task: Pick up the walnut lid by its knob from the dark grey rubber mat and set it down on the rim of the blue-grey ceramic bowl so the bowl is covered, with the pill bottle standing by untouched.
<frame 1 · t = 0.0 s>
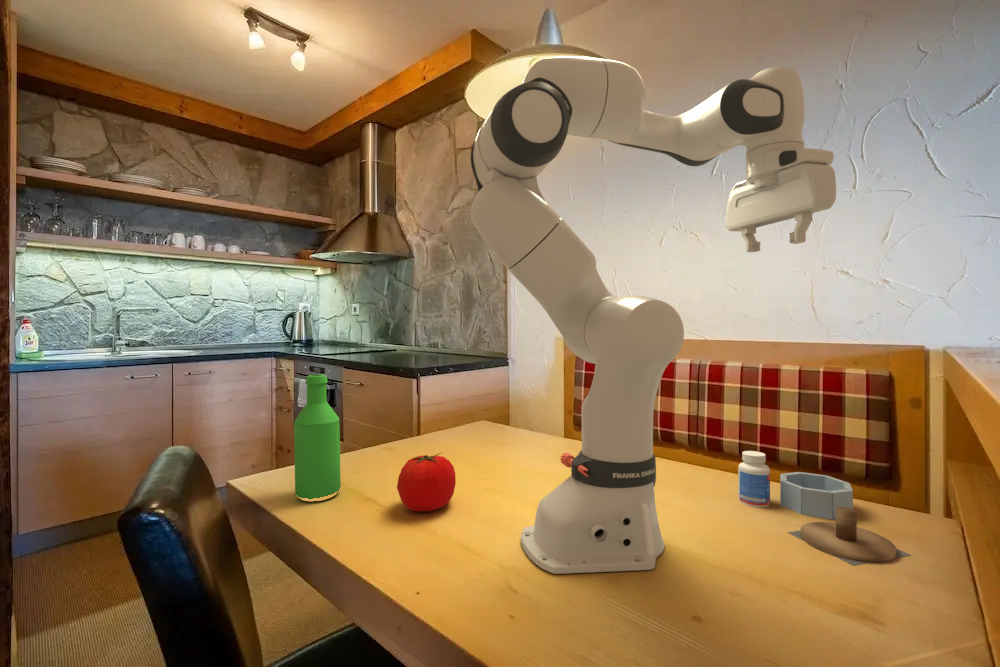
hand: (774, 247, 82), 48 cm above the table, fingers open, 8 cm apart
bowl: (814, 508, 88), on the table
pill bottle: (753, 504, 91), on the table
lid: (846, 543, 73), resting on mat
mat: (846, 545, 73), on the table
bottle: (318, 497, 97), on the table
tomato: (426, 508, 91), on the table
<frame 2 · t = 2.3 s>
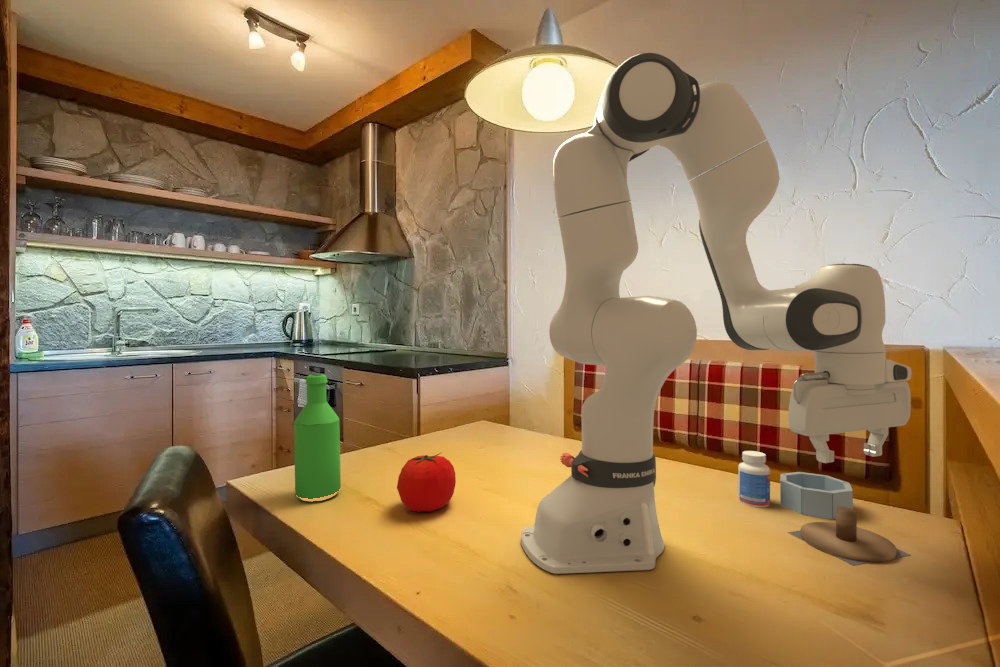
hand: (849, 458, 73), 14 cm above the table, fingers open, 8 cm apart
nothing on the table moved.
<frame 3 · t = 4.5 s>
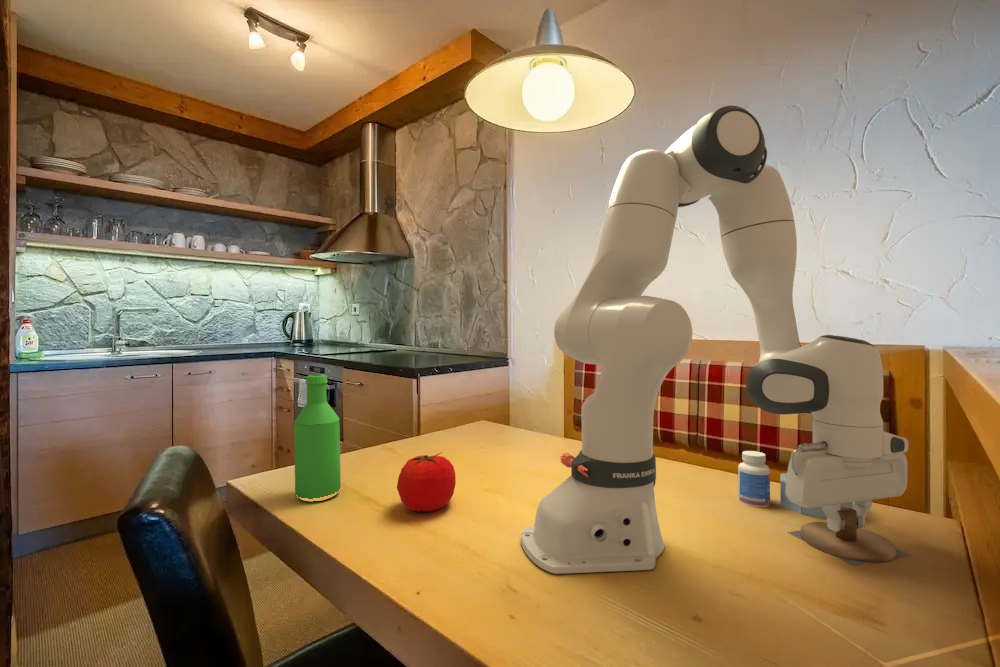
hand: (846, 528, 73), 3 cm above the table, fingers closed on lid, 3 cm apart
lid: (846, 543, 73), resting on mat, touching gripper
everything else where it was.
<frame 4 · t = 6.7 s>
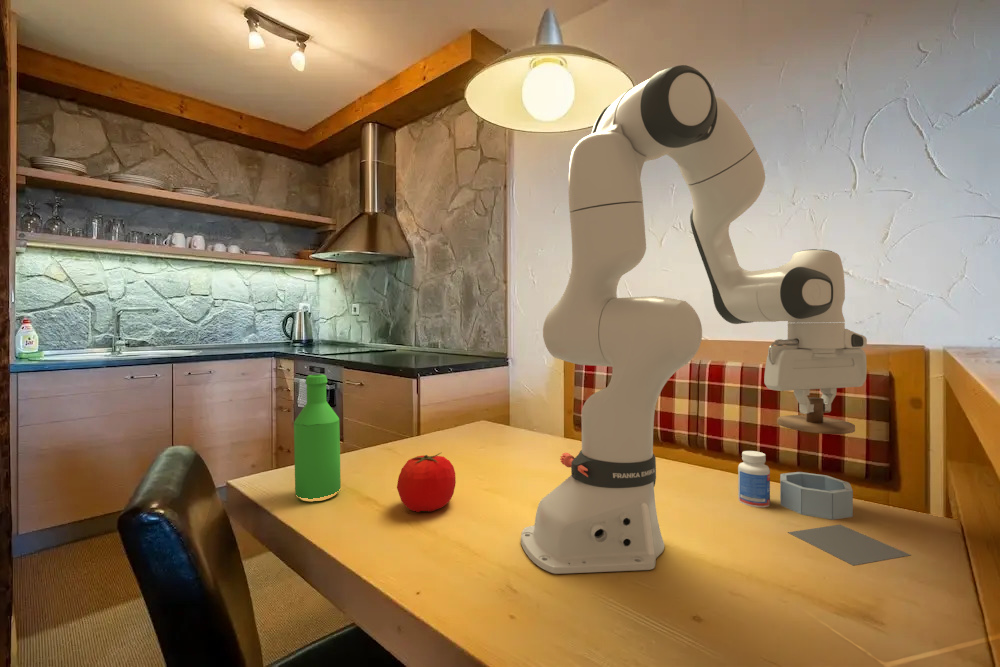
hand: (815, 412, 88), 18 cm above the table, fingers closed on lid, 3 cm apart
lid: (814, 426, 88), point 15 cm above the table, touching gripper
everything else where it was.
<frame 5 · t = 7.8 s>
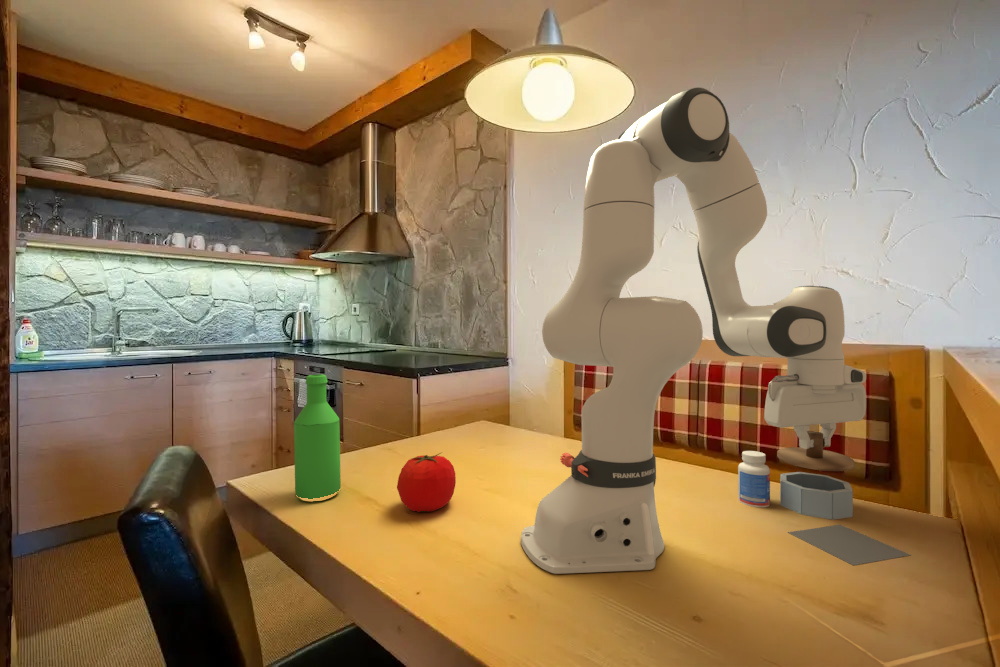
hand: (814, 447, 88), 11 cm above the table, fingers closed on lid, 3 cm apart
lid: (814, 460, 88), point 9 cm above the table, touching gripper
everything else where it was.
when the fingers open (9 cm above the table, at t = 8.9 s): lid drops 1 cm, resting on bowl.
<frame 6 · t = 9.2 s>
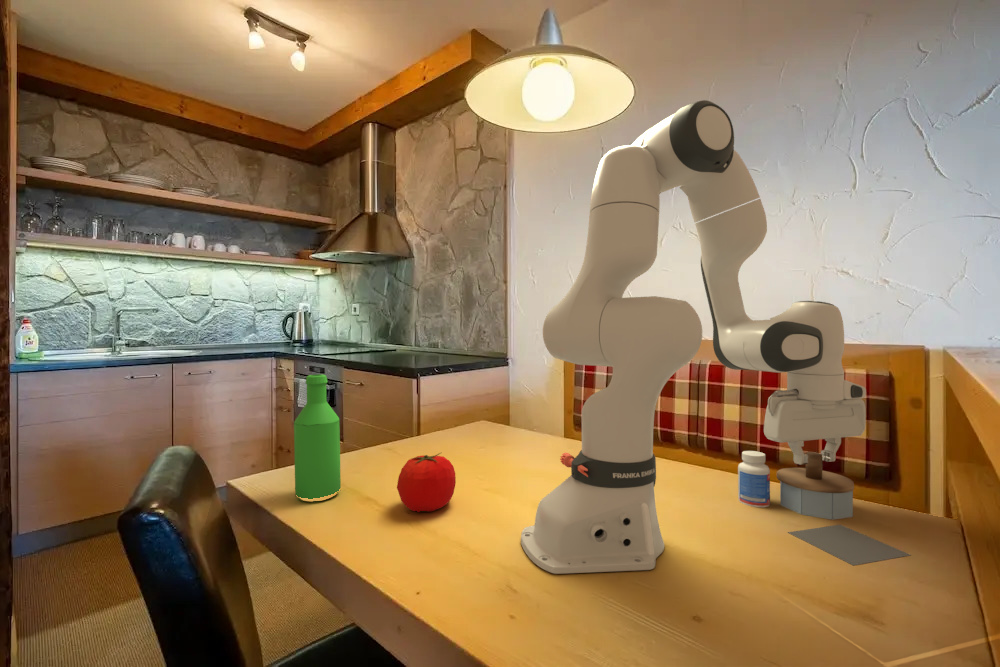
hand: (814, 462, 88), 9 cm above the table, fingers open, 5 cm apart
lid: (813, 481, 88), point 5 cm above the table, touching bowl
everything else where it was.
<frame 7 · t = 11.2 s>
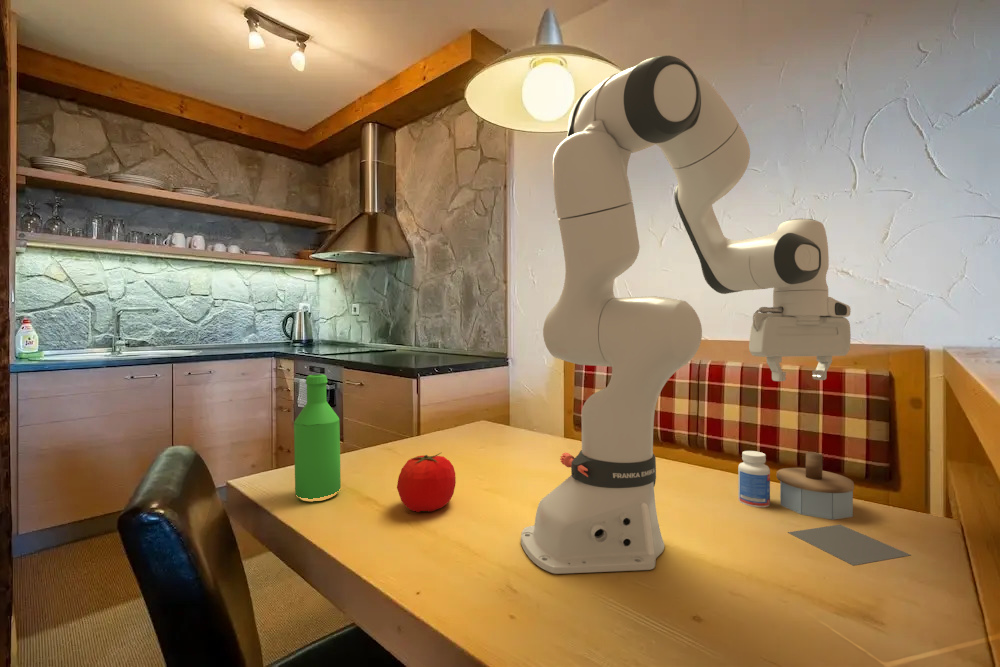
hand: (799, 380, 89), 24 cm above the table, fingers open, 8 cm apart
nothing on the table moved.
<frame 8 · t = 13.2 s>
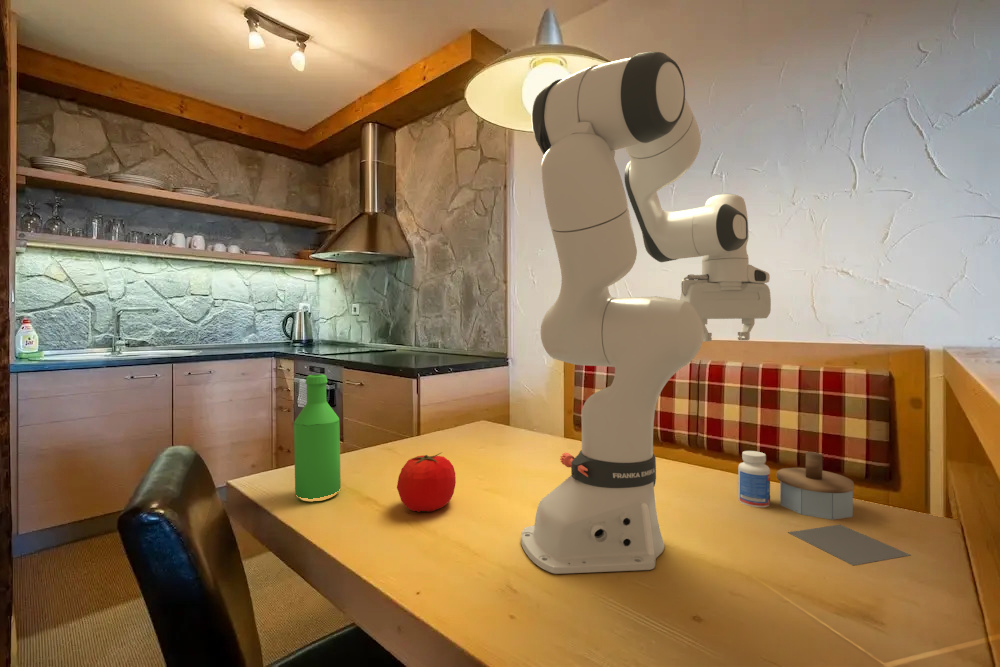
hand: (724, 340, 99), 31 cm above the table, fingers open, 8 cm apart
nothing on the table moved.
at the end: lid 0.1 cm off-centre on the bowl, point 5.0 cm above the bowl's base; lid tilted 0°; the gripper is holding nothing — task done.
